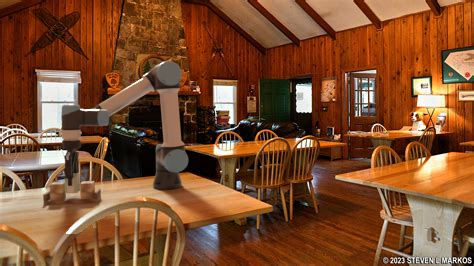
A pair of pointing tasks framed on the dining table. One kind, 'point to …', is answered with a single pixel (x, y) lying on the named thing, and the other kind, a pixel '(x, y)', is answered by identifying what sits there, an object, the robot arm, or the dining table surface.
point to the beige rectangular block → (76, 183)
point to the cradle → (59, 196)
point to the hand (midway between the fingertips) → (72, 191)
